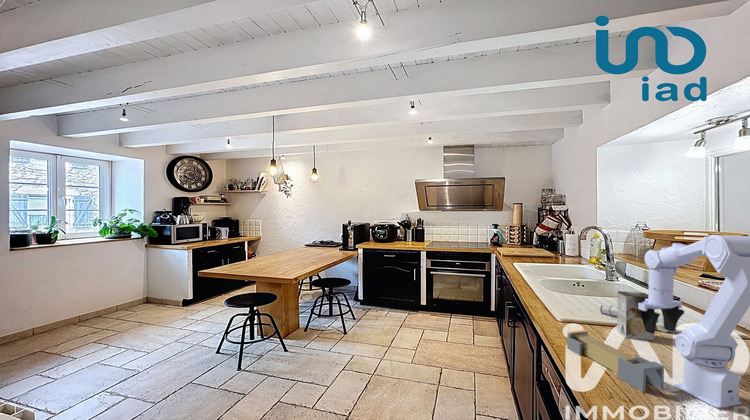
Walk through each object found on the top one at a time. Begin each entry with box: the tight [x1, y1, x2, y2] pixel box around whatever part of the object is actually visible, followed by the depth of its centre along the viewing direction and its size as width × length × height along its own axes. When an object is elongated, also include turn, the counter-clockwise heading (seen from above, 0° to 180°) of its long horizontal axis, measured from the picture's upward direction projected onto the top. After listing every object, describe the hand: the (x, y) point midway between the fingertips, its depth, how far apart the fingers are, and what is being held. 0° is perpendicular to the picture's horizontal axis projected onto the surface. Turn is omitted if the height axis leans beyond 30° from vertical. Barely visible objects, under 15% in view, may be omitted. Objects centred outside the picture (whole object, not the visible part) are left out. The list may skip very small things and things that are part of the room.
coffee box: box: [616, 290, 655, 341], centre depth 116 cm, size 9×6×16 cm
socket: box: [566, 329, 588, 356], centre depth 105 cm, size 5×7×6 cm
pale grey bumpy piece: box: [599, 305, 678, 334], centre depth 129 cm, size 5×7×25 cm
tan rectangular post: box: [576, 333, 636, 374], centre depth 97 cm, size 17×4×5 cm, turn 11°
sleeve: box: [617, 355, 665, 393], centre depth 86 cm, size 7×7×6 cm
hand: (659, 331), depth 97 cm, fingers open, 7 cm apart
